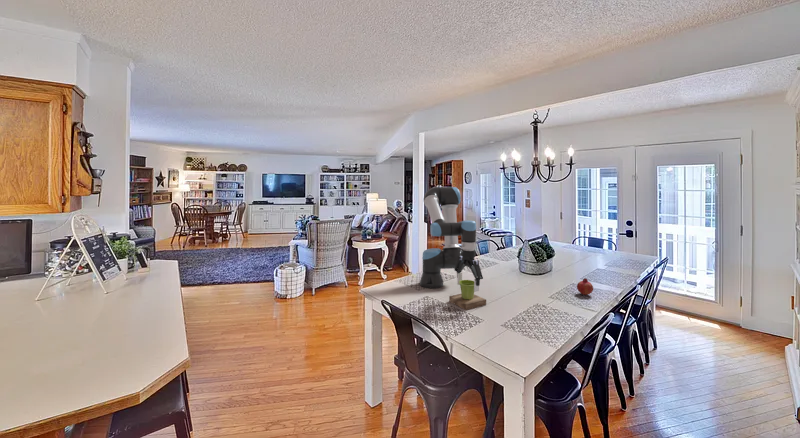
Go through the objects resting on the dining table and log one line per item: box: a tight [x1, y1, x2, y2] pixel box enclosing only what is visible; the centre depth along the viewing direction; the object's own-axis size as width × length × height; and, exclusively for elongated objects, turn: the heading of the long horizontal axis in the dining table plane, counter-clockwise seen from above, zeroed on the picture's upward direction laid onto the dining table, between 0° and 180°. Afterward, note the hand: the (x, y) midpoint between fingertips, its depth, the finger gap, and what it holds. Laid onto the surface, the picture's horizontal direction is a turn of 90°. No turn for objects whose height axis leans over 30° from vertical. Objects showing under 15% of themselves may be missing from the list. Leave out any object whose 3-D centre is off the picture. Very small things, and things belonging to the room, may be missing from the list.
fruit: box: [576, 277, 594, 296], centre depth 182 cm, size 8×8×10 cm
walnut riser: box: [449, 293, 487, 311], centre depth 171 cm, size 14×14×3 cm
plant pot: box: [459, 279, 475, 300], centre depth 170 cm, size 9×9×9 cm
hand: (467, 287), depth 170 cm, fingers open, 13 cm apart
